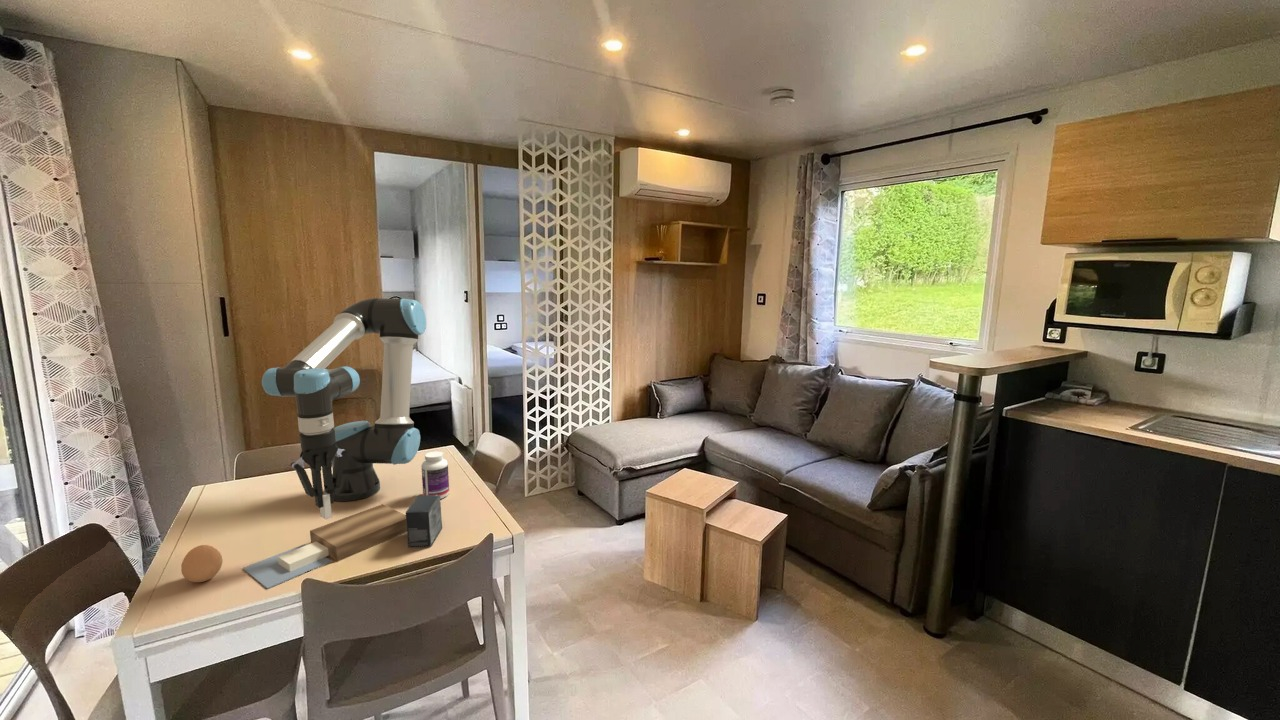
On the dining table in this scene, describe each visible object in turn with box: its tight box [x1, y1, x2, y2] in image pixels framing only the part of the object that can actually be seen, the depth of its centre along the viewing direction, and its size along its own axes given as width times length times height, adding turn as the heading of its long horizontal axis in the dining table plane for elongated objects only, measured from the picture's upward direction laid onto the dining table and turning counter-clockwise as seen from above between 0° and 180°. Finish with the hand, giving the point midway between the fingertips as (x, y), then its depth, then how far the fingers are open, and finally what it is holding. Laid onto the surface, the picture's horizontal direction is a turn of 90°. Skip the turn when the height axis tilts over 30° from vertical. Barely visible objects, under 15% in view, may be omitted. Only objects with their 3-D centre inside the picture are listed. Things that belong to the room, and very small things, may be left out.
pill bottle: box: [420, 451, 450, 500], centre depth 168 cm, size 8×8×14 cm
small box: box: [405, 494, 443, 549], centre depth 142 cm, size 11×6×10 cm, turn 5°
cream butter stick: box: [278, 541, 330, 572], centre depth 130 cm, size 6×9×2 cm, turn 148°
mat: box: [242, 543, 332, 590], centre depth 128 cm, size 14×14×1 cm
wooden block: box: [309, 503, 407, 562], centre depth 142 cm, size 14×20×4 cm
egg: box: [180, 544, 223, 583], centre depth 121 cm, size 7×7×8 cm
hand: (326, 516), depth 134 cm, fingers closed
